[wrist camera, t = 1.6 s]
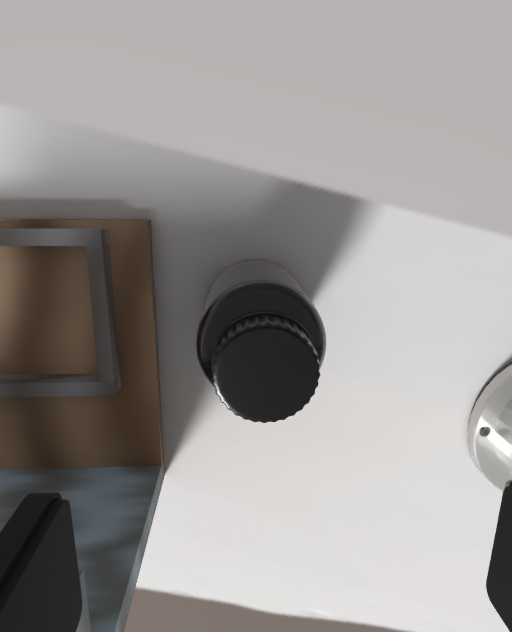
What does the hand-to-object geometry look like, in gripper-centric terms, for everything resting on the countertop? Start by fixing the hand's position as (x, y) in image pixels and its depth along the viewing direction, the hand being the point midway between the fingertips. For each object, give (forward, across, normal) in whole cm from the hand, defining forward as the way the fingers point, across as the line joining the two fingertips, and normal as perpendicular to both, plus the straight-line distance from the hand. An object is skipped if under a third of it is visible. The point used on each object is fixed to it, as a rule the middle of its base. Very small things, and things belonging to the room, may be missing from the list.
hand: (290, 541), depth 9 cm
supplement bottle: (+22, 0, 0) cm, 22 cm away
